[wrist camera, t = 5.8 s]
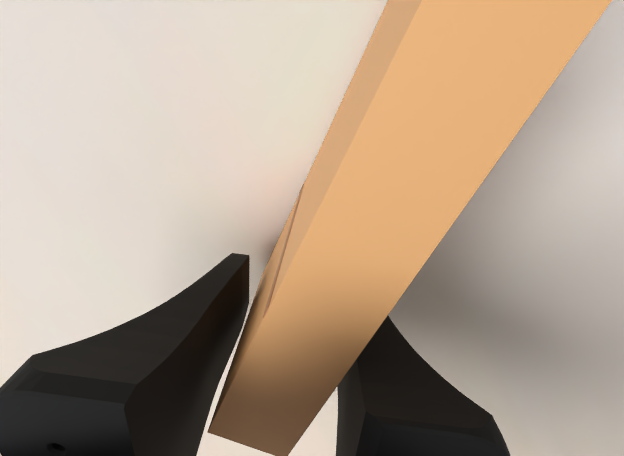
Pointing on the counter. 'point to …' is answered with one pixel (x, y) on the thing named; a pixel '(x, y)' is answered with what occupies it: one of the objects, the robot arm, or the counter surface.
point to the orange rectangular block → (388, 193)
